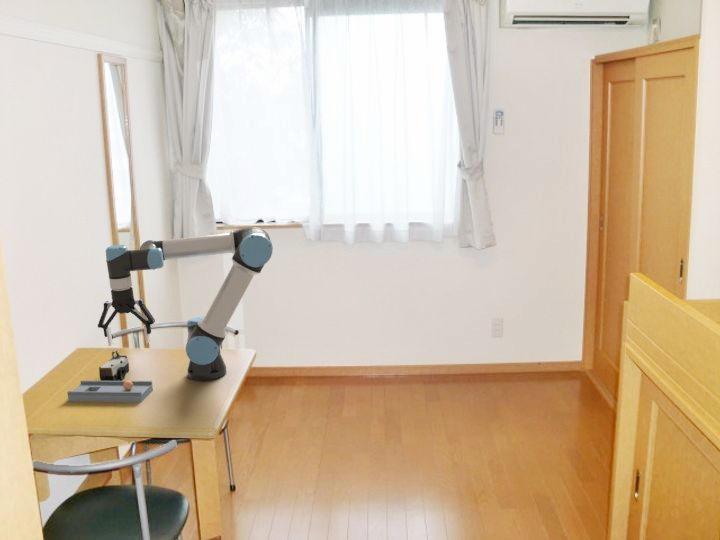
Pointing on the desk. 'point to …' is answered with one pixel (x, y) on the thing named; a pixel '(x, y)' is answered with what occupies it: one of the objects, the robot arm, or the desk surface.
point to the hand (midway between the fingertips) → (129, 343)
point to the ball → (127, 385)
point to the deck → (110, 391)
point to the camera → (114, 368)
